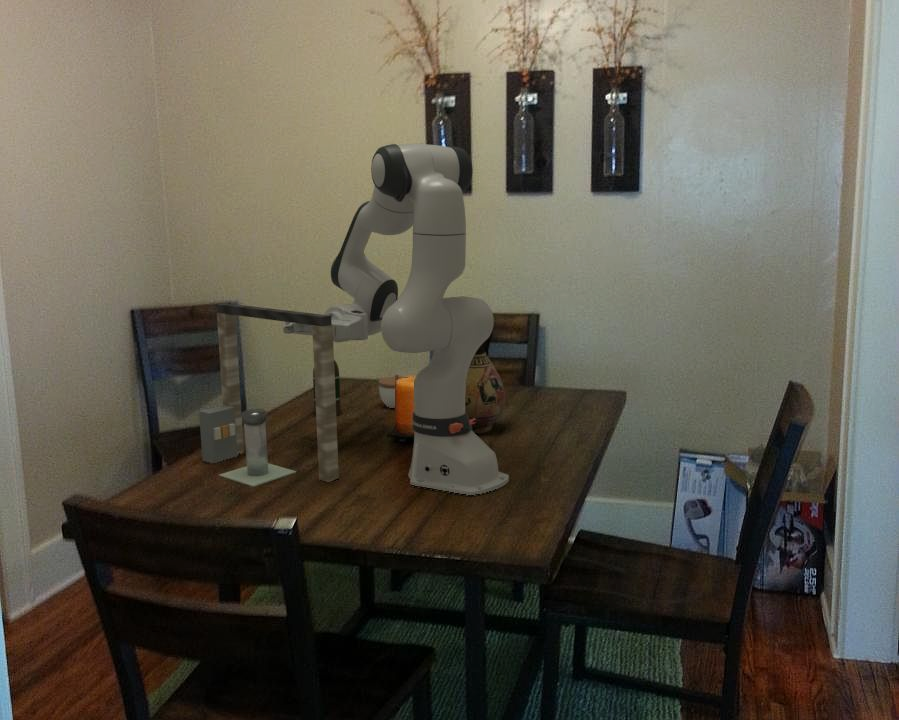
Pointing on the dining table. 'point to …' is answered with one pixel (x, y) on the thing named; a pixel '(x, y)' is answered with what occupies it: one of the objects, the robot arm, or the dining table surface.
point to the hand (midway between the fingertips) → (300, 331)
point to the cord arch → (321, 372)
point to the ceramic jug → (483, 390)
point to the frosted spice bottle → (255, 441)
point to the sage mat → (244, 478)
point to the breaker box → (218, 433)
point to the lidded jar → (388, 390)
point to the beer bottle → (337, 389)
